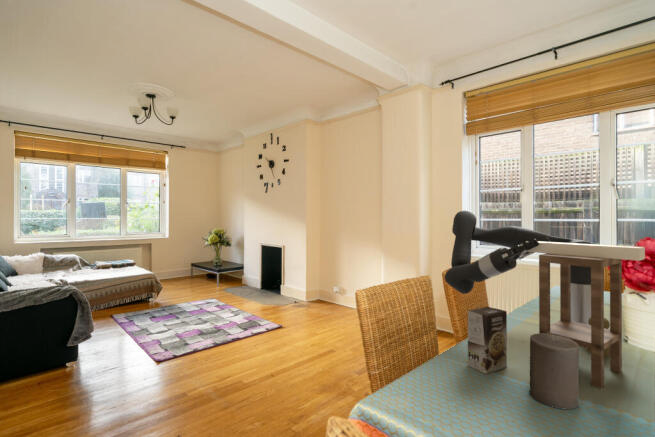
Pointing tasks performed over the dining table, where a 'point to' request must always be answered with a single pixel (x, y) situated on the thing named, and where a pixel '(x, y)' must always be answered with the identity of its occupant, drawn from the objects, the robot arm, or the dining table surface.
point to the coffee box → (487, 339)
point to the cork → (606, 326)
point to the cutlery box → (591, 250)
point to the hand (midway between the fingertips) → (543, 240)
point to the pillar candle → (554, 370)
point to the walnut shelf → (594, 333)
